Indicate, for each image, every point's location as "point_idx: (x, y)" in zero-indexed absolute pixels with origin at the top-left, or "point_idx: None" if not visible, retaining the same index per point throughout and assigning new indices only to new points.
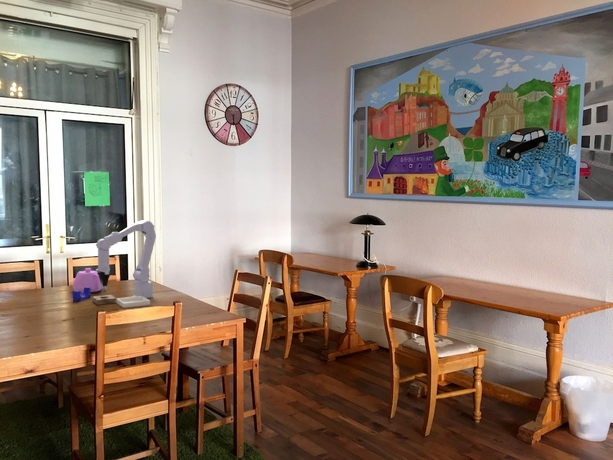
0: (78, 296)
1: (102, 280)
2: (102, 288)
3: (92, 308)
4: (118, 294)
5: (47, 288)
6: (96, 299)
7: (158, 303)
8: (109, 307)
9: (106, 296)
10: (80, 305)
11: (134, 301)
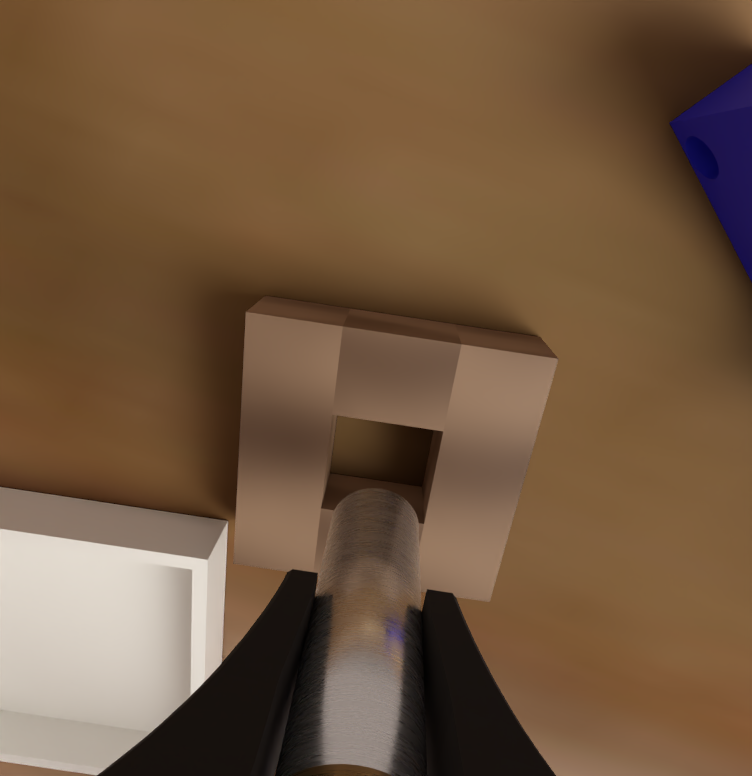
0: (730, 137)
1: (209, 678)
2: (347, 536)
3: (43, 144)
4: (678, 705)
5: None
6: (291, 323)
7: (4, 769)
8: (12, 362)
9: (425, 517)
10: (358, 55)
11: (150, 666)
